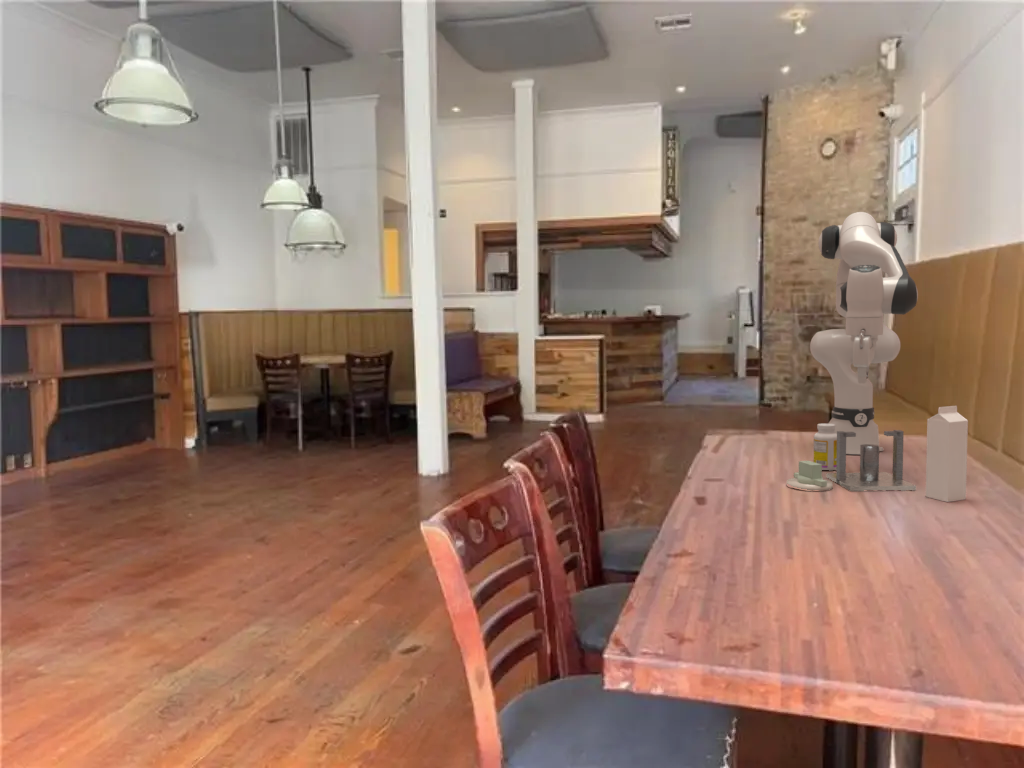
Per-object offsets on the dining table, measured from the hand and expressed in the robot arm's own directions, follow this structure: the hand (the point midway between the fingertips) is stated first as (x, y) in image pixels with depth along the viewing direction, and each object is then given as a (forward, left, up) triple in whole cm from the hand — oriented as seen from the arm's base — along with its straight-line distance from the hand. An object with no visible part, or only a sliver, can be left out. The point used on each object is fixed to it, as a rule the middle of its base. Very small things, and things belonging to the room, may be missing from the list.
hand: (863, 381), depth 196 cm
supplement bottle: (-15, -4, -27) cm, 31 cm away
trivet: (+6, -16, -27) cm, 31 cm away
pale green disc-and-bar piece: (+6, -16, -25) cm, 30 cm away
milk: (+20, +11, -27) cm, 35 cm away
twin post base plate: (+4, 0, -27) cm, 27 cm away
